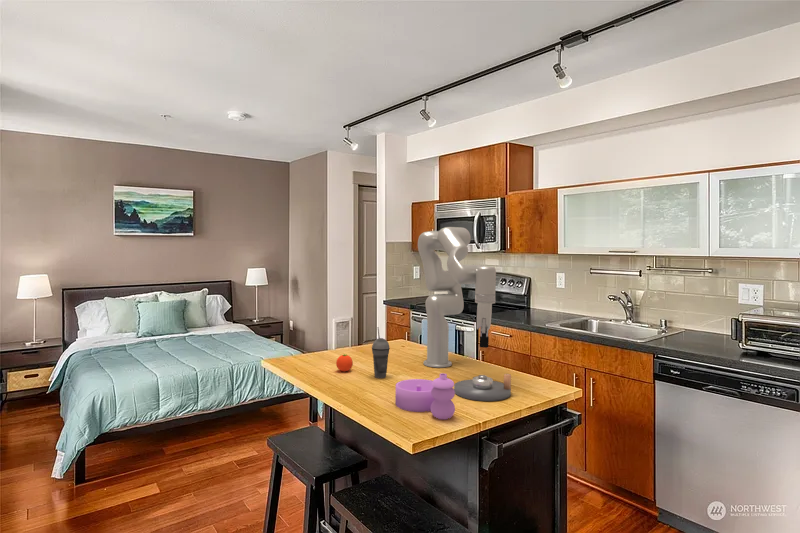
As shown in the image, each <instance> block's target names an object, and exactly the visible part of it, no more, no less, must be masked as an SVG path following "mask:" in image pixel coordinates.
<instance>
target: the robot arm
mask: <svg viewBox="0 0 800 533" xmlns="http://www.w3.org/2000/svg"><path fill="white" fill-rule="evenodd" d="M471 238H472V237H471V233H470V231H469V230H468V229H467V228H465V227H463V226H462V227H460V226H459V227H457V226H445V227H443V228H440V229H439V230H437V231H436V230H429V231H424V232H422V233H420V235H419V236H418V240H417V249H418V254H419V257H420V259H421V263H422V265H423V266H422V267H423V268H422V269H423V273H424V275H423V276H424V279H425V286H426V289H427V290H428V291H429V292H446V293H435V294H431V295H428V297H427V298H426V300H425V302H424V303H425V311H426V318H427V319H426V320H427V328H426V329H427V331H426V333H427V334H426V336H427V337H426V339H427V340H426V346H427V347H426V359H425V360H423V365H424V366H426V367H429V368H439V369H440V368H449V367H450V366H452V365H453V364H452V361H451V360H449V339H450V338H449V336H450V335H449V329H450V328H449V327H450V326H449V323H448V320H447V319H446V317H445V316H454V315H459V314H462V312H463V310H464V307H465V306H464V304H465V303H464V297H463V291H462V285H475V289H474V290H475V292H474V295H475V297H474V303H476V304H477V309H476V330H480V336H479V348H486V349H487V348H489V340H490V339H489V338H490V337H489V330H490V329H491V324H492V315H493V314H492V312H493V310H492V309H493V304H496V286H497V285H496V284H497V282H496V281H497V270H496V267H494V266H487V265H483V264H462V263H460V262H461V261H463V260H464V259H465V258H466V257H467V255H468V253H469V246H468V245H469V244H470V243H471ZM435 251H444V252H445V253H446V254H447V260H446V268H447V270H444V269H443V264H442V259H441V258H440V256H439V255H438V254H437V252H435Z"/></svg>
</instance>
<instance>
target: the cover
mask: <svg viewBox="0 0 800 533" xmlns="http://www.w3.org/2000/svg"><path fill="white" fill-rule="evenodd" d="M472 379H473V388H475V389H479V390H490V389H492V386H493V381H494V380H493V378H492V377H489V376H488V375H486V374H480V375H478V376H477V375H476V376H473V377H472Z"/></svg>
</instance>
